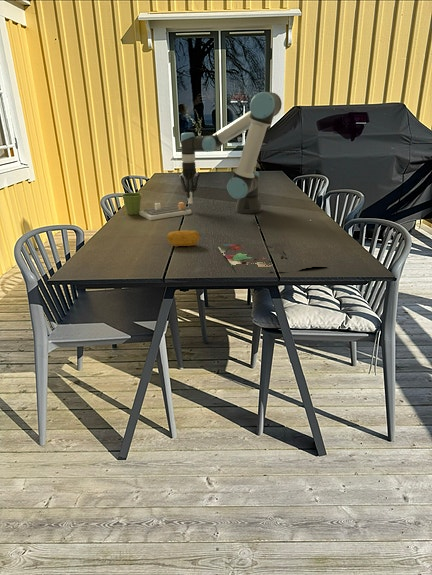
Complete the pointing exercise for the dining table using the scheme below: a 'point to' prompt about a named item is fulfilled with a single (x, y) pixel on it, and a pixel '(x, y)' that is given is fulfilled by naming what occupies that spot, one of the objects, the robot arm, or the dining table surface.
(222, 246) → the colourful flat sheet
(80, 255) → the dining table surface
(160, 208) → the fader panel
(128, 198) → the plant pot
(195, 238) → the potato
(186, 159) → the robot arm
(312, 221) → the dining table surface
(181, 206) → the fader knob
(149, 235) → the dining table surface
